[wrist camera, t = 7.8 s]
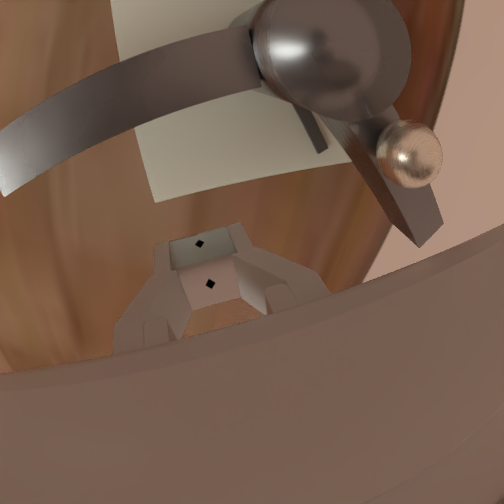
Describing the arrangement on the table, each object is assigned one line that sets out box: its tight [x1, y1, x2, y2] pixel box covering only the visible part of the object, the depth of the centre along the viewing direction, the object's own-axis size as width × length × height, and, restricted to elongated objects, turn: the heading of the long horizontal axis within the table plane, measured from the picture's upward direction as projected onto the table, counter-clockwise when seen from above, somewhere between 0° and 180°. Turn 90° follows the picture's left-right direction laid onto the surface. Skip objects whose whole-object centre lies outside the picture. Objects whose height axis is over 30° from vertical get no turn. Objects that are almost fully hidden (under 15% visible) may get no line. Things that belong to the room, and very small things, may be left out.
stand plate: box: [111, 0, 352, 203], centre depth 11 cm, size 12×12×2 cm
